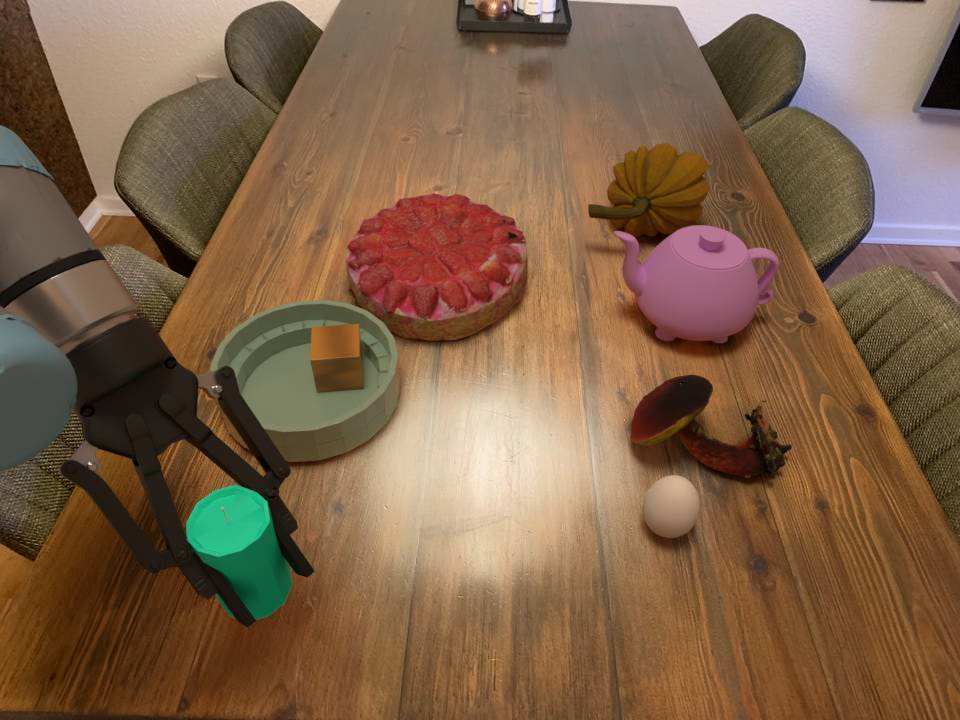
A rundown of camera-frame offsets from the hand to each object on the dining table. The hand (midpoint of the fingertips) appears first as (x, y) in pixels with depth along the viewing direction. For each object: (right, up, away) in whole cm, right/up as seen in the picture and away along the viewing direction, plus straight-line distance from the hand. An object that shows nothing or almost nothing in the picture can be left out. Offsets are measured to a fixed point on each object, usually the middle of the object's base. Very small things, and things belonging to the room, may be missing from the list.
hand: (276, 596), depth 55 cm
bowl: (-4, +14, +29) cm, 33 cm away
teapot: (+43, +24, +41) cm, 64 cm away
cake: (+10, +29, +45) cm, 55 cm away
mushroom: (+41, +9, +26) cm, 49 cm away
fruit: (+41, +39, +56) cm, 79 cm away
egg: (+34, +1, +18) cm, 39 cm away
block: (-1, +16, +31) cm, 35 cm away
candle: (-3, -1, +5) cm, 6 cm away
